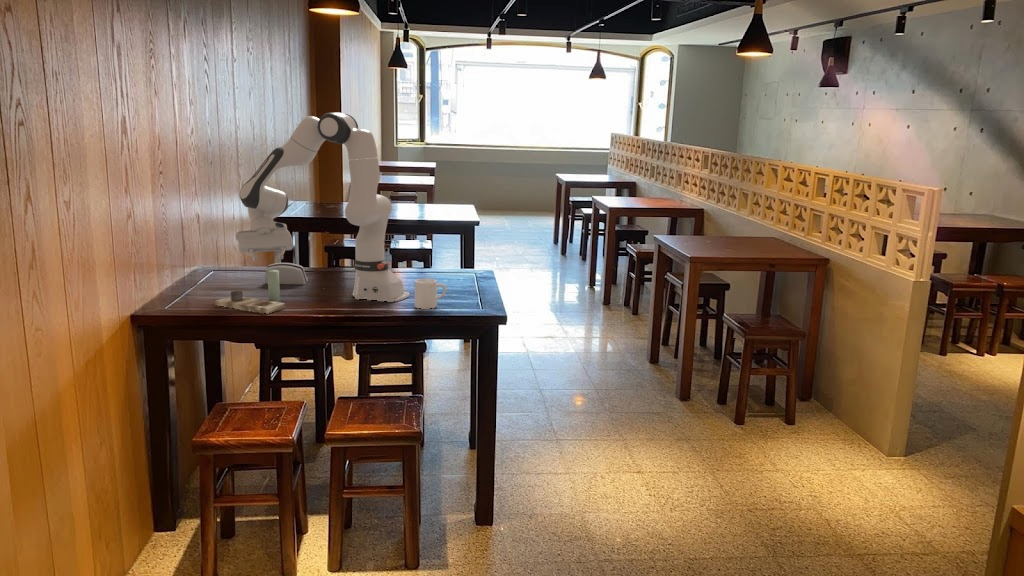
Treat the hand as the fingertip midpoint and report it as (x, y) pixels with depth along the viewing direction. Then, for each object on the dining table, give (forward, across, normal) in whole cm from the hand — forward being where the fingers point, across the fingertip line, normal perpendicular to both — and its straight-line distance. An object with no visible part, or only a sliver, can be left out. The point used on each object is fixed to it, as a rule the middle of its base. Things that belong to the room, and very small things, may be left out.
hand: (268, 259), depth 280 cm
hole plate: (+20, -9, 0) cm, 22 cm away
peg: (+18, 0, +3) cm, 18 cm away
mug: (+37, +52, -16) cm, 65 cm away
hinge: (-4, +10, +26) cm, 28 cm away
